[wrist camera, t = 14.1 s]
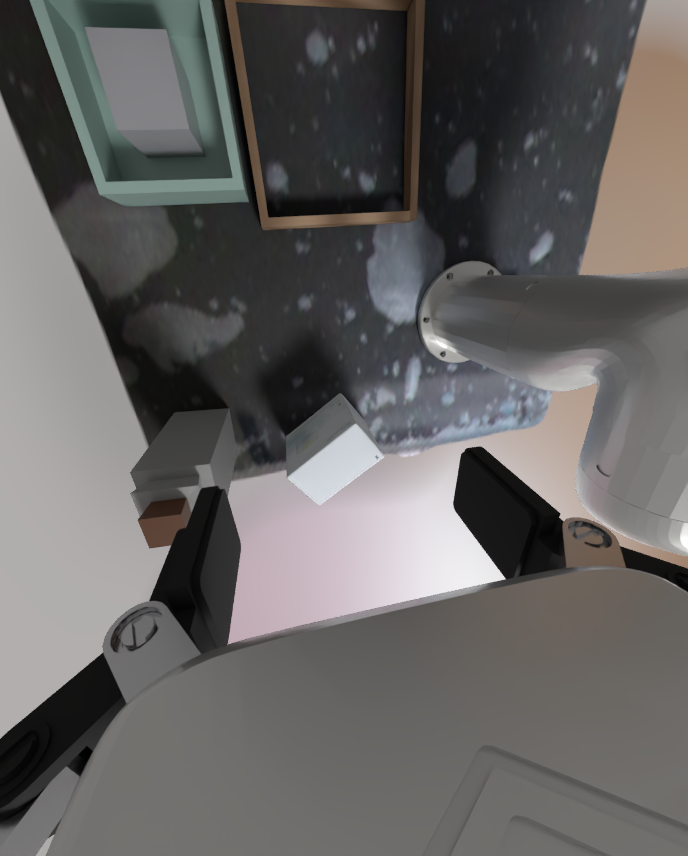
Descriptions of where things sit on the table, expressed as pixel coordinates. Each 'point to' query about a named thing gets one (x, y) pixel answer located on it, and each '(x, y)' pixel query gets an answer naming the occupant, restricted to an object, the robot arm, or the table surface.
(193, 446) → the perfume bottle
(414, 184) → the brown wooden frame
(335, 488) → the skincare box
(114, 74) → the stone block
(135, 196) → the sage green bin
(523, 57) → the table surface
